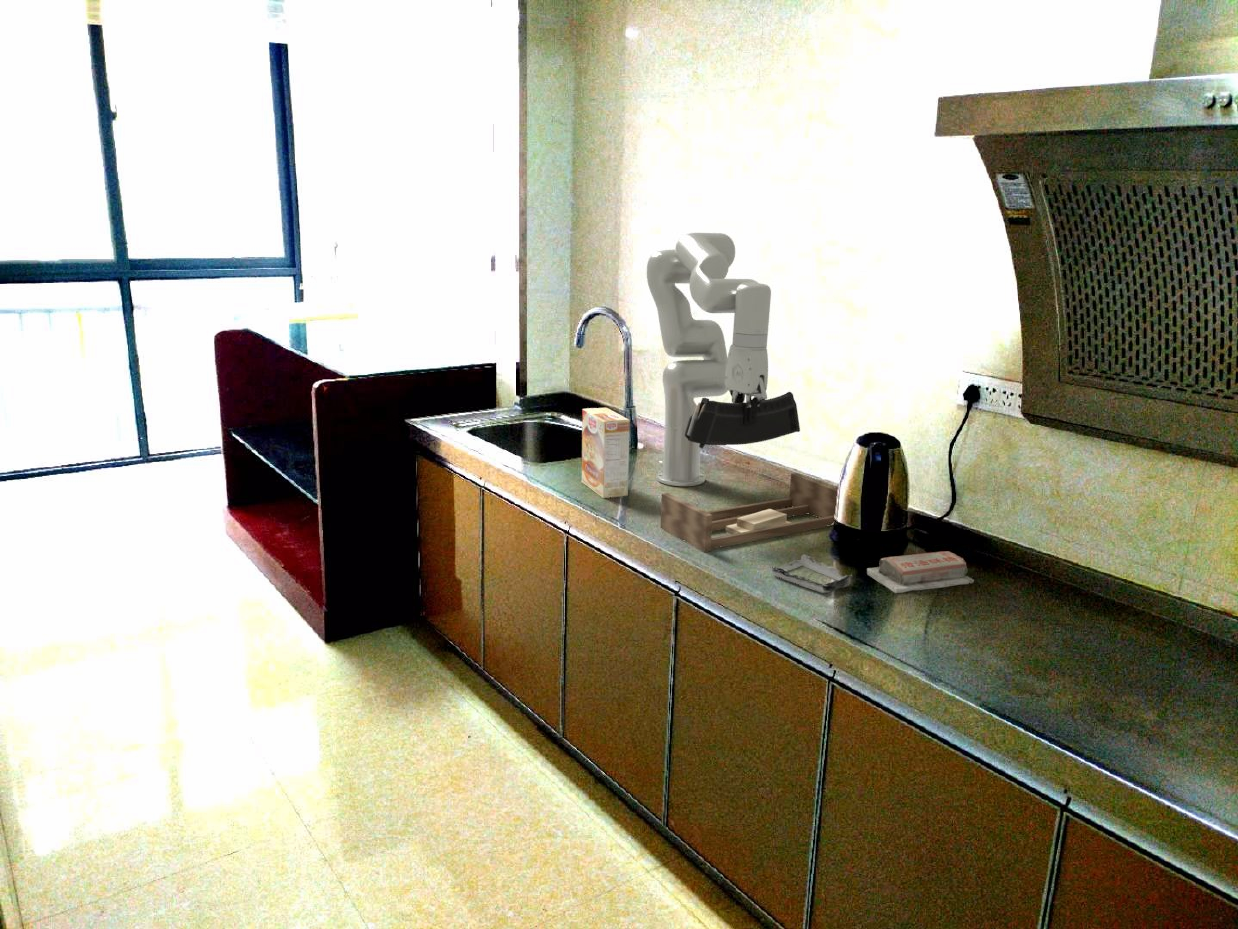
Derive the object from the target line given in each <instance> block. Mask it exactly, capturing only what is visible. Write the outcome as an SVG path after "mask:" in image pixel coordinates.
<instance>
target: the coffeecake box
mask: <svg viewBox="0 0 1238 929" xmlns="http://www.w3.org/2000/svg"><path fill="white" fill-rule="evenodd" d="M581 410H582V430H581V431H582V432H581V438H582V439H581V483H582V484H584V485H585V486H586V487H587V488H589V489H590V490H592V491H593V492H594V493H595V494H597V495H598V496H599V497H601V498H602V499H610V497H611V499H612V498H617V497H628V495H629V467H630V466H629V463H630V462H629V458H630V456H629V454H630V425H631V423H630V422H631V420H630V419H629V418H627V417H625V416H623V415H621V414H619V413H617V412H616V411H613V410H612V409H610V408H608V407H598V408H597V407H590V408H589V407H587V408H582V409H581Z"/></svg>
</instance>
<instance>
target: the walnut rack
mask: <svg viewBox="0 0 1238 929" xmlns="http://www.w3.org/2000/svg"><path fill="white" fill-rule="evenodd" d="M837 489H838V488H837V487H834V486H831V485H828V484H826V483H823V482H820V481H818V480H815V479H812V478H810V477H807V476H805V475H801V474H799V473H797V472H794V473H791V474H790V486H789V496H788V497H785V498H780V499H773V500H767V501H762V502H755V503H751V504H749V503H748V504H745V505H744V504H743V505H738V506H732V507H726V508H721V509H715V510H710V511H705V510H703V509H701V508H698V507H697V506H695V505H693V504H691V503H689V502H687V501H685V500H682V498H681V499H680V498H678V497H677V496H674V495H673V494H670V493H669V492H663V493H661V500H660V501H661V504H660V507H661V508H660V527H659V528H660V529H661V528H662V530H663V529H664V530H663V531H665V532H667V533H669V534H671V535H672V534H673V536H674V535H675V536H674V537H676V538H678V539H679V538H680V540H681V541H683V540H685V541H686V542H685V541H684V542H685V543H687V542H688V543H689V545H690V544H691V545H690V546H692V547H694V546H695V547H694V548H696V549H697V548H698V549H697V550H699V549H700V550H699V551H701V552H702V553H708V552H709V551H710V552H711V550H713V549H712V548H714V549H716V548H715V547H720V546H725V547H728V546H734V545H739V543H740V544H744V543H749V542H754V541H760V540H764V539H770V538H771V539H772V538H774V537H775V536H776V537H780V536H785V534H786V535H789V534H790V535H791V534H795V533H796V534H797V533H801V532H800V531H802V532H805V531H804V530H807V531H811V530H810V529H812V530H815V529H814V528H817V529H821V528H820V527H822V528H826V527H825V526H827V525H831V524H832V523H833V522H834V514H835V506H836V496H837ZM788 506H793V507H788ZM785 507H787V508H785ZM779 508H781V509H779ZM767 509H775V511H778V512H781V513H784V514H787V517H788V518H790V517H789V516H793V515H799V516H803V515H802V514H804V515H807V514H806V513H809V514H808V515H810V514H811V515H810V516H812V515H815V516H817V517H820V518H817V517H815V516H814V517H815V518H812V519H806V520H802V521H796V522H790V524H784V525H779V526H774V527H768V528H763V529H758V530H752V531H747V532H742V533H737V534H728V535H727V534H726V535H721V536H716V537H712V532H716V531H715V530H717V531H720V529H722V530H726V526H728V525H733V524H737V518H740V517H743V516H747V515H750V514H753V513H757V512H760V511H764V510H767ZM738 515H741V516H738ZM734 516H736V517H734ZM729 517H730V518H729ZM793 517H794V516H793ZM723 518H724V519H723ZM827 527H828V526H827ZM711 531H712V532H711ZM776 537H775V538H776ZM688 543H687V544H688ZM720 548H721V547H720ZM710 552H709V553H710Z"/></svg>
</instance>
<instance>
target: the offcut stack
mask: <svg viewBox="0 0 1238 929" xmlns="http://www.w3.org/2000/svg"><path fill="white" fill-rule="evenodd" d="M775 510H776V509H775ZM775 510H772V509H767V510H764V511H760V512H757V513H753V514H747V516H744V515H742V516H743V517H740V518H737V524H733V525H728V526H726V529H725V533H727V532H728V534H729V535H731V534H737V533H742V532H747V531H752V530H758V529H763V528H768V527H774V526H779V525H784V524H790V523H791V521H787V514H784V513H781V512H778V511H775Z"/></svg>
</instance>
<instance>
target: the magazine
mask: <svg viewBox="0 0 1238 929" xmlns="http://www.w3.org/2000/svg"><path fill="white" fill-rule="evenodd" d="M696 405H697V407H696V409H695V411H694V413H693V415H692V416H691V417H690V418H689V421H688V425H687V428H686V431H685V434H684V435H685V437H686V438H687V439H688V441H691V442H695V443H700V445H699V447H700V449H703V448H704V447H705V445H707V446H732V445H733V446H734V445H736V446H737V445H747V444H755V443H761V442H765V441H766V442H767V441H771V440H774V439H778V438H780V437H784V436H787V435H790V434H793V433H800V432H801V427H800V426H801V425H800V421H799V414H798V406H797V402H796V401H795V397H794V394H793V393H792V392H791V391H788V392H786V393H784V394H781V395H779V396H775V397H773V398H769V399H768V398H767V399H765V400H763V401H762V402H761V403H760V404H759V407H757V415H756V423H755V424H752V425H744V424H743V416H744V407H746V402H745V403H732V402H726V401H725V402H724V401H723V402H722V401H715V400H710V398H708V397H701V400H700V402H698V404H696Z"/></svg>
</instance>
